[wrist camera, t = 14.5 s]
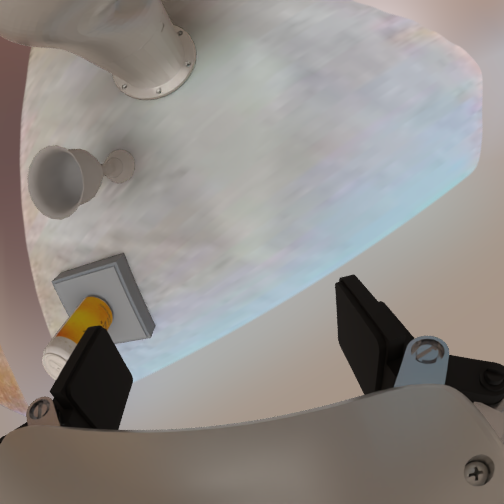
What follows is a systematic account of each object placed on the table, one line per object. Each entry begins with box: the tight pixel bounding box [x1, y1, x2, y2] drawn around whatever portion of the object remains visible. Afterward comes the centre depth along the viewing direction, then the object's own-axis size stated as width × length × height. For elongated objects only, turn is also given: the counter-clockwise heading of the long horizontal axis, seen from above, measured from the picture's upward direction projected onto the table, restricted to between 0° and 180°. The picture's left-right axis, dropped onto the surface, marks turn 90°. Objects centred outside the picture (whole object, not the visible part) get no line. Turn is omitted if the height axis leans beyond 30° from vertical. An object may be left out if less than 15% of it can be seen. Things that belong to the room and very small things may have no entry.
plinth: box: [52, 253, 155, 344], centre depth 44 cm, size 14×14×4 cm
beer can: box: [42, 297, 113, 380], centre depth 35 cm, size 6×6×15 cm
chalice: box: [28, 145, 135, 220], centre depth 30 cm, size 7×7×18 cm
